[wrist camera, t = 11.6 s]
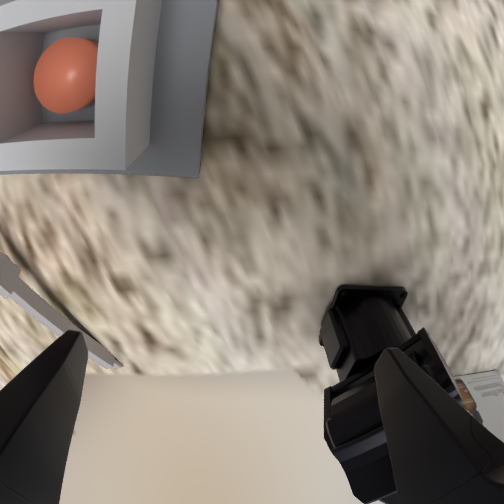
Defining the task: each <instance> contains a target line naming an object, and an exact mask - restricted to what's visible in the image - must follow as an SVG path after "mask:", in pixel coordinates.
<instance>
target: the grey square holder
mask: <svg viewBox="0 0 504 504" xmlns="http://www.w3.org/2000/svg"><path fill="white" fill-rule="evenodd" d="M218 3H219V0H2V1H0V175H3V174H37V173H94V174H131V175H155V176H173V177H189V178H198V175H199V172H200V163H201V151H202V139H203V127H204V117H205V106H206V97H207V87H208V78H209V69H210V61H211V53H212V45H213V38H214V30H215V23H216V16H217V9H218ZM68 37H77V38H86V39H92V40H96V41H98V42H99V43H98V55H97V68H96V87H95V103H93V104H91V105H89V106H86V107H84V108H81V109H78V110H75V111H73V112H69V113H55V112H52V111H50V110H48V109H46V108H45V107H44V106H43V105H42V104H41V103H40V102H39V100H38V98H37V96H36V94H35V90H34V83H33V79H34V71H35V68H36V65H37V62H38V60H39V58H40V57H41V55H42V54H43V52H44V51H45V50H46V49H47V48H48V47H49V46H50V45H52V44H53V43H54V42H56V41H58V40H61V39H63V38H68Z"/></svg>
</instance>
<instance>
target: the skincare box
mask: <svg viewBox="0 0 504 504" xmlns="http://www.w3.org/2000/svg"><path fill="white" fill-rule="evenodd" d="M454 379H455V382H456V384H457V386H458V389H459V391H460V393H461V396H462V398H463V402H461V403H460V405H461V406H462V407H463V408H465V409H466V410H467V411H468V412H469V413H470V415H472V416H473V417H474V418H475V419H476V420H477V421H479V422H480V423H481V424H482V425H483V426H484V427H485V428H486V429H487V430H489V431H490V432H491V433H492V434H494V435H495V436H496V437H497V438H498V439H500V440H501V441H502V442H504V382H503V380H502V378H501V377H500V375H499V373H498V372H497V370H495V371H489V372H483V373H477V374H470V375H463V376H455V377H454Z"/></svg>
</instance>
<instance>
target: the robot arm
mask: <svg viewBox="0 0 504 504" xmlns="http://www.w3.org/2000/svg"><path fill="white" fill-rule="evenodd" d="M343 291H345V292H344V293H342V292H343ZM407 294H408V293H407V291H406V289H405V288H398V287H371V286H347V285H344V286H340V287H339V288H338V289H337V291H336V294H335V297H334V299H333V302H332V305H331V308H330V309H329V310H328V311H327V314H326V316H325V319H324V322H323V324H322V327H321V330H320V334H321V335H320V337H319V343H320V345H321V346H324V348H325V351H326V355H327V358H328V362H329V365H330V367H331V368H332V369H336V370H337V373H338V377H339V380H340V382H339V383H337V384H336V385H334V386H332V387H331V386H330V387H328V388H326V389H324V439H325V441H326V442H327V444H328V447H329V449H330V451H331V452H332V454H333V455H334V456H335V457H336V459H338V461H339V462H340V464H341V466H342V468H343V469H344V471H345V473H346V476H347V478H348V481H349V484H350V486H351V489H352V492H353V494H354V496H355V497H356V498H358V499H359V500H360V501H361V502H362V503H364V504H369V503H371V502H374V501H377V500H379V501H381V502H383V503H385V504H504V442H502V441H501V440H500V439H498V438H497V437H496V436H495V435H494V434H492V433H491V432H490V431H489V430H487V429H486V428H485V427H484V426H483V425H482V424H481V423H480V422H479V421H477V420H476V419H475V418H474V417H473V416H472V415H470V413H469V412H468V411H467V410H466V409H465V408H463V407H462V406H461V405H460V403H461V402H463V398H462V396H461V393H460V391H459V389H458V386H457V384H456V382H455V379H454V377H453V375H452V373H451V371H450V369H449V367H448V365H447V364H446V362H445V360H444V358H443V356H442V355H441V353H440V351H439V350H438V348H437V347H436V345H435V343H434V342H433V340H432V339H431V337H430V336H429V334H428V333H427V331H426V330H425V328H424V327H423V328H422V329H421V330H419V331H418V333H417V334H416V333H415V332H414V330H413V328H412V326H411V324H410V323H409V321H408V319H407V317H406V315H405V314H404V312H403V310H402V308H401V307H402V305H403V303H404V301H405V299H406V297H407ZM87 360H88V349H87V346H86V342H85V339H84V336H83V333H82V332H81V331H77V330H71V329H70V330H67V331H66V332H65V333H64V334H62V335H61V336H60V337H59V338H58V339H57V340H55V341H54V342H53V343H52V344H51V345H50V346H49V347H47V348H46V349H45V350H44V351H43V352H42V353H41V354H40V355H38V356H37V357H36V358H35V359H34V360H33V361H32V362H31V363H30V364H28V365H27V366H26V367H25V368H24V369H23V370H22V371H21V372H20V373H19V374H18V375H16V376H15V377H14V378H13V379H12V380H11V381H10V382H9V383H8V384H7V385H6V386H5V387H4V388H3V389H1V390H0V504H59V500H60V494H61V488H62V482H63V477H64V471H65V466H66V461H67V456H68V451H69V446H70V443H71V438H72V434H73V430H74V426H75V421H76V417H77V414H78V410H79V405H80V401H81V396H82V389H83V383H84V377H85V371H86V365H87Z"/></svg>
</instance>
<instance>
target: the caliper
mask: <svg viewBox="0 0 504 504" xmlns="http://www.w3.org/2000/svg"><path fill="white" fill-rule="evenodd" d="M20 271H21V269H20V267H19V266H17V265H16V264H14V263H13V262H12V261H11V260H10V258H9V257H8V256H7V255H5V254H3V253H2V252H0V294H1V295H2V296H3V297H4V298H6V297H8V296H9V297H10V298H12V299H13V300H14V301H15V302H16V303H17V304H19V305H20V306H21V307H22V308H23V309H25V310H26V311H27V312H28V313H29V314H31V315H32V316H33V317H34V318H36V319H37V320H38V321H39V322H41V323H42V324H43V325H44V326H46V327H47V328H48V329H50V330H51V331H52V332H53V333H55V334H56V335H57V336H59V337H60V336H61V335H62V334H64V333H65V332H66V331H67V330H70V329H71V330H77V331H81V332H82V333H83V336H84V339H85V342H86V346H87V349H88V357H89V358H90V359H92V360H93V361H95V362H96V363H98V364H99V365H101V366H102V367H104V368H106V369H108V368H113V369H117V368H121V367H123V364H121V363H120V362H118V361H117V360H115V357H114V356H113V355H112V354H111V353H110V352H109V351H108V350H107V349H106V348H105V347H104V346H102V345H101V344H100V343H98V342H97V341H95V340H94V339H93V338H91V337H90V336H89V335H87V334H86V333H85V332H83V331H82V330H81V329H79V328H78V327H77V326H75V325H74V324H73V323H71V322H70V321H69V320H68V319H66V318H65V317H64V316H63V315H61V314H60V313H59V312H58V311H57V310H55V309H54V308H53V307H52V306H51V305H49V304H48V303H47V302H46V301H45V300H44V299H42V298H41V297H40V296H39V295H38V294H37V293H36V292H35V291H33V290H32V289H31V288H30V287H29V286H28V285H27V284H26V283H25V282H24V281H22V280H21V279H20V278H19V277H18V276H19V273H20Z"/></svg>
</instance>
